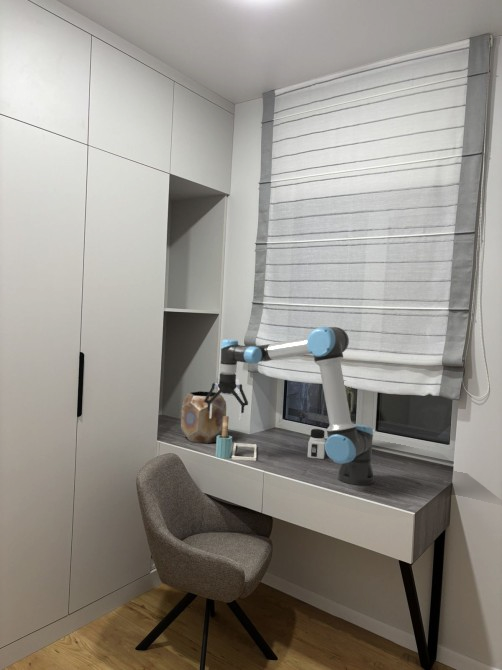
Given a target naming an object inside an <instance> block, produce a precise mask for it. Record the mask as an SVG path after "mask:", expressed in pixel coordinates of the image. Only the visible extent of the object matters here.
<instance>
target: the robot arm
mask: <svg viewBox="0 0 502 670" xmlns="http://www.w3.org/2000/svg"><path fill="white" fill-rule="evenodd" d="M349 343H350V339H349V336H348V334H347V332H346V331H345V330H344V329H342V328H341V327H336V326H320V327H317V328H315V329H313V330H311V332H310V333H309V335H308V336H307V337H303V338H295V339H292V340H291V339H290V340H286V341H285V340H284V341H279V342H273V343H269V344H268V343H267V344H262V345H241V344H239V341H238V340H236V339H228V338H227V339H223V340H222V341H221V347H220V365H219V366H220V367H219V379H218V380H219V382H218V383H216V382H215V381H214V382H212V384H211V388H210V390H209V391H208V392H209V393H208V395H207V397H206V398H205V400H204V402H206V403H207V404H208V411H210V416H209V418H210V419H211V417H212V403H211V402H212V401H213V400H214V399H215V398H216V397H217V396H218V395H219V394H220V395H221V393H222V394H229V395H230V394H232V395H233V396H234V398H235V399H236V400H237V402H238V403H239V404H240V405H239V414H238V421H241V420H242V414H243V413H245V412H244V411H245V406H249V401H248V399H247V396H246V394H245V391H244V390H243V384H242V383H240V384H236V380H237V374H236V373H237V369H238V367H237V366H238V362H240V363H246V364H253V365H255V364H258V363H260V362H269V361H274V360H281V359H287V358H288V359H289V358H293V357H301V356H307V355H312V356H313V361H314V363H315V364H316V365H317V366H318V367H319V371H320V378H321V383H322V388H323V395H324V400H325V406H326V410H327V418H328V423H329V426H328V427H327V429H326V432H327V439H326V443H325V454H326V455H327V457H328V458H329V459H330V460H332V461H333V462H334V463H336V464H340V465H339V467H338V469H337V474H336V475H337V479H338V480H339V481H341V482H343V483H346V484H350V485H356V486H357V485H358V486H368V485H373V483H374V482H375V474H374V470H373V465H372V455H373V454H372V452H373V451H372V450H373V439H374V438H373V437H374V429H373V428H372V427H371V426H368V425H364V424H358V423H353V422H352V420H351V416H350V413H349V407H348V402H347V396H346V391H345V385H344V381H345V380H344V375H343V367H342V364H341V363H342V361H343V359H344V352H345V351H346V350H347V349H348V347H349ZM215 388H219V389H218V390H217V391H216V394H215V395H214V396H213V397H212V398H211V399H210V400H208V398H209V397H210V395H211V393H212V392H214V390H215ZM235 389H238V390H239V392H240V394H241V397H242V399H241V397H240V396H239V394H237V392H236V391H235Z"/></svg>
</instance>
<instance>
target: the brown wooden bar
mask: <svg viewBox="0 0 502 670" xmlns="http://www.w3.org/2000/svg"><path fill="white" fill-rule="evenodd" d="M228 430H229V416H227V415H226V416H223V425H222V438H227V435H228V432H229V431H228Z"/></svg>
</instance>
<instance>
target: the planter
mask: <svg viewBox="0 0 502 670" xmlns="http://www.w3.org/2000/svg"><path fill="white" fill-rule="evenodd" d="M208 393H209V391H201V390H200V391H192V392H191V391H190V392H188V393H187V394H186V395H185V396H184V398H183V401H182V406H181V417H180V418H181V419H180V428H181V430H182V432H183V434H184V437H187V438H186V439H187V440H189V441H190V442H192V443H201V444H210V443H215V442H216V440H217V436H218V435H222V425H223V416H227V401H226V400H225V398H224V397H223V395H222V394H221V393H220V394H219V395H218V396H217V397H216V398H215V399H214V400H213V401H212V402H211V403H212V417H211V419H210V418H209V416H210V411H208V404H207V403H206V402H204V400H205V398H206V397H207V395H208ZM216 393H217V391H212V393H211V395H210V397H209V398H208V400H210V399H211V398H212V397H213V396H214V395H215V394H216Z"/></svg>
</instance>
